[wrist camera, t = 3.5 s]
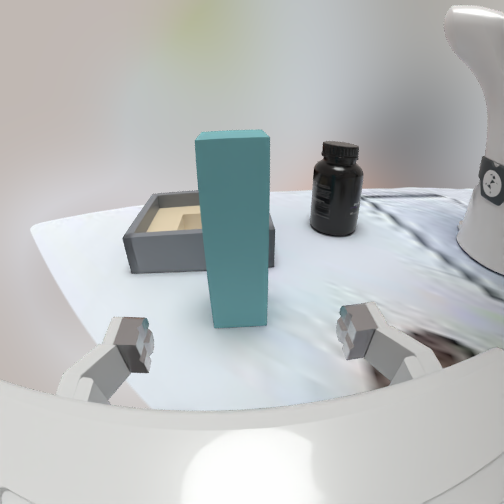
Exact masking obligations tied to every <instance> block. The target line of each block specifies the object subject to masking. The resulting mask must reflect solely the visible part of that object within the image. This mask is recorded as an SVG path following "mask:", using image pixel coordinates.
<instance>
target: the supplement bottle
mask: <svg viewBox="0 0 504 504" xmlns="http://www.w3.org/2000/svg"><path fill="white" fill-rule="evenodd" d="M358 150H359V147H358V146H357V145H354V144H350V143H344V142H335V141H326V142H323V151H322V156H324V158H323V160H321V161H319V162H318V163H317V164H316V165H315V167H314V175H313V189H312V202H311V215H310V223H311V225H312V227H313V228H314V229H316V230H317V231H319V232H322V233H324V234H328V235H335V236H343V235H348V234H350V233H352V232H353V231H354V230H355V229H356V225H357V219H358V213H359V206H360V199H361V192H362V184H363V171H362V169H361V168H360V167H359V166H358V165H357V164H356V160H358V152H359V151H358Z"/></svg>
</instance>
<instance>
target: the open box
mask: <svg viewBox="0 0 504 504" xmlns="http://www.w3.org/2000/svg"><path fill="white" fill-rule="evenodd" d="M123 242H124V246H125V250H126V254H127V258H128V262H129V265H130V269H131V273H155V272H180V271H203V270H207V269H206V260H205V252H204V243H203V233H202V223H201V213H200V202H199V191H198V190H196V191H182V192H169V193H158V194H152V196H151V197H150V199H149V200H148V201H147V203H146V204H145V206H144V207H143V208H142V210H141V211H140V213H139V214H138V216H137V217H136V219H135V220H134V221H133V223H132V224H131V226H130V227H129V229H128V230H127V232H126V234H125V235H124V237H123ZM274 248H275V228H274V225H273V222H272V219H271V216H270V213H269V258H268V267H274Z"/></svg>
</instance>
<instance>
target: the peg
mask: <svg viewBox="0 0 504 504" xmlns="http://www.w3.org/2000/svg"><path fill="white" fill-rule="evenodd" d="M195 151H196V166H197V179H198V191H199V202H200V213H201V223H202V233H203V243H204V252H205V260H206V269H207V277H208V285H209V293H210V300H211V308H212V315H213V322H214V328H230V327H249V326H264V325H267V299H268V258H269V195H270V137H269V136H268V135H267V134H266V133H265V132H264V131H262V130H229V131H211V132H202V133H201V134H200V135H199V136H198V137H197V138H196V140H195Z"/></svg>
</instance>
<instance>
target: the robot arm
mask: <svg viewBox="0 0 504 504" xmlns="http://www.w3.org/2000/svg"><path fill="white" fill-rule="evenodd" d="M444 31H445V35H446V38H447V41H448V43H449V45H450V47H451V48H452V50H453V51H454V53H455V54H456V55H457V56H458V57H459V58H460V59H461V60H462V61H463V62H464V63H465V64H466V65H467V66H468V67H469V68H470V70H471V71H472V72H473V73H474V75H475V77H476V78H477V80H478V82H479V84H480V86H481V88H482V90H483V93H484V96H485V100H486V105H487V113H488V127H487V129H488V130H487V131H488V132H487V143H486V150H485V156H483V157H482V160H481V163H480V171H479V178H480V182H479V184H478V185H477V186H476V187H475V188H474V190H473V193H472V196H471V199H470V202H469V205H468V208H467V211H466V214H465V216H464V219H463V221H460V222H459V224H458V229H459V232H458V234H457V241H458V243H459V245H460V246H461V247H462V248H463V250H464V251H465V252H466V253H468V254H469V255H470V256H471V257H472V258H474V259H475V260H476V261H478V262H479V263H481V264H482V265H484V266H486V267H487V268H489V269H491V270H493V271H495V272H498V273H500V274H503V275H504V13H503V12H500V11H497V10H493V9H489V8H485V7H481V6H471V5H468V6H467V5H459V6H458V5H456V6H452V7H451V8H450V9H449V10H448V12H447V13H446V16H445V19H444ZM339 313H340V315H341V317H340V318H339V319H338V321H337V325H336V332H337V337H338V340H339V341H340V342H341V343H343V347H342V350H343V353H344V355H345V358H346V360H352V359H358V358H364V359H365V360H367V361H368V362H369V363H370V364H371V365H372V366H374V367H375V368H376V369H377V370H378V371H379V372H380V373H382V374H383V375H384V376H385V377H386V378H387V379H389V380H390V381H391V383H390V385H389V386H387V387H383V388H380V389H376V390H372V391H367V392H363V393H359V394H354V395H349V396H345V397H339V398H334V399H329V400H323V401H317V402H311V403H304V404H297V405H289V406H280V407H271V408H259V409H245V410H222V411H181V410H158V409H143V408H133V407H124V406H116V405H111V404H110V402H109V401H108V400H109V398H110V397H111V396H112V395H113V394H114V393H115V391H116V390H117V389H118V388H119V387H120V385H121V384H122V383H123V382H124V381H125V380H126V379H127V377H128V376H129V375H130V374H131V373H149V369H150V365H151V359H150V357H149V356H150V355H151V354H152V353H153V350H154V338H153V334H152V332H151V331H150V330H149V329H148V326H149V323H148V320H147V318H139V317H113V318H112V319H111V322H110V324H109V327H108V329H107V332H106V334H105V337H104V339H103V342H102V344H98V345H97V346H96V347H95V348H93V349H92V350H91V351H90V352H89V353H87V354H86V355H85V356H84V357H82V358H81V359H80V360H79V361H78V362H76V363H75V364H74V365H73V366H72V367H70V368H69V369H68V370H67V371H65V372H64V373H63V376H62V378H61V381H60V384H59V386H58V389H57V392H56V394H55V395H54V394H49V393H45V392H41V391H37V390H34V389H30V388H26V387H23V386H20V385H16V384H13V383H10V382H7V381H4V380H1V379H0V504H504V350H503V349H501V348H499V347H495V348H492V349H489V350H487V351H485V352H483V353H481V354H478V355H476V356H474V357H471V358H469V359H467V360H464V361H462V362H459V363H457V364H454V365H452V366H449V367H447V368H444V369H443V368H442V366H441V365H440V363H439V361H438V360H437V358H436V356H435V354H434V353H433V351H432V350H431V349H430V348H428V347H426V346H425V345H423V344H421V343H420V342H418V341H416V340H415V339H413V338H411V337H410V336H408V335H406V334H405V333H403V332H401V331H400V330H398V329H396V328H395V327H393V326H389V325H388V323H387V321H386V320H385V318H384V316H383V315H382V313H381V311H380V310H379V308H378V306H377V305H376V303H375V302H367V303H361V304H353V305H346V306H342V307H341V309H340V312H339Z"/></svg>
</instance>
